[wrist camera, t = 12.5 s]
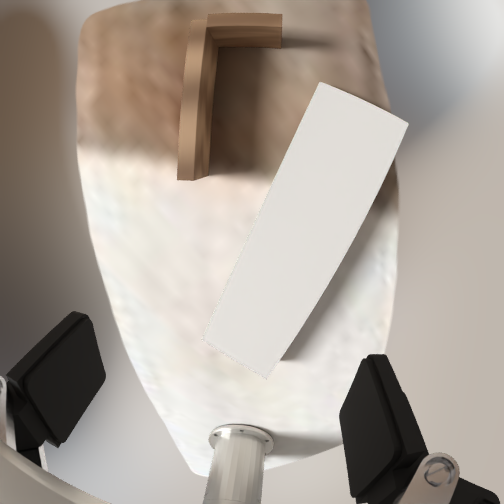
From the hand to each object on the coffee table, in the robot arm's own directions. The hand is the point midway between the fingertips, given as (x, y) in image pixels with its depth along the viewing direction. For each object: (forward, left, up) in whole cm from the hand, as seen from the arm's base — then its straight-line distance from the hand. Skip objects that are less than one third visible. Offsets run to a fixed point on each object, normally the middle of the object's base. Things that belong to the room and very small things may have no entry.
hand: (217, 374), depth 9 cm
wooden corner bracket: (+13, +3, -25) cm, 28 cm away
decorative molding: (-2, -4, -25) cm, 26 cm away
